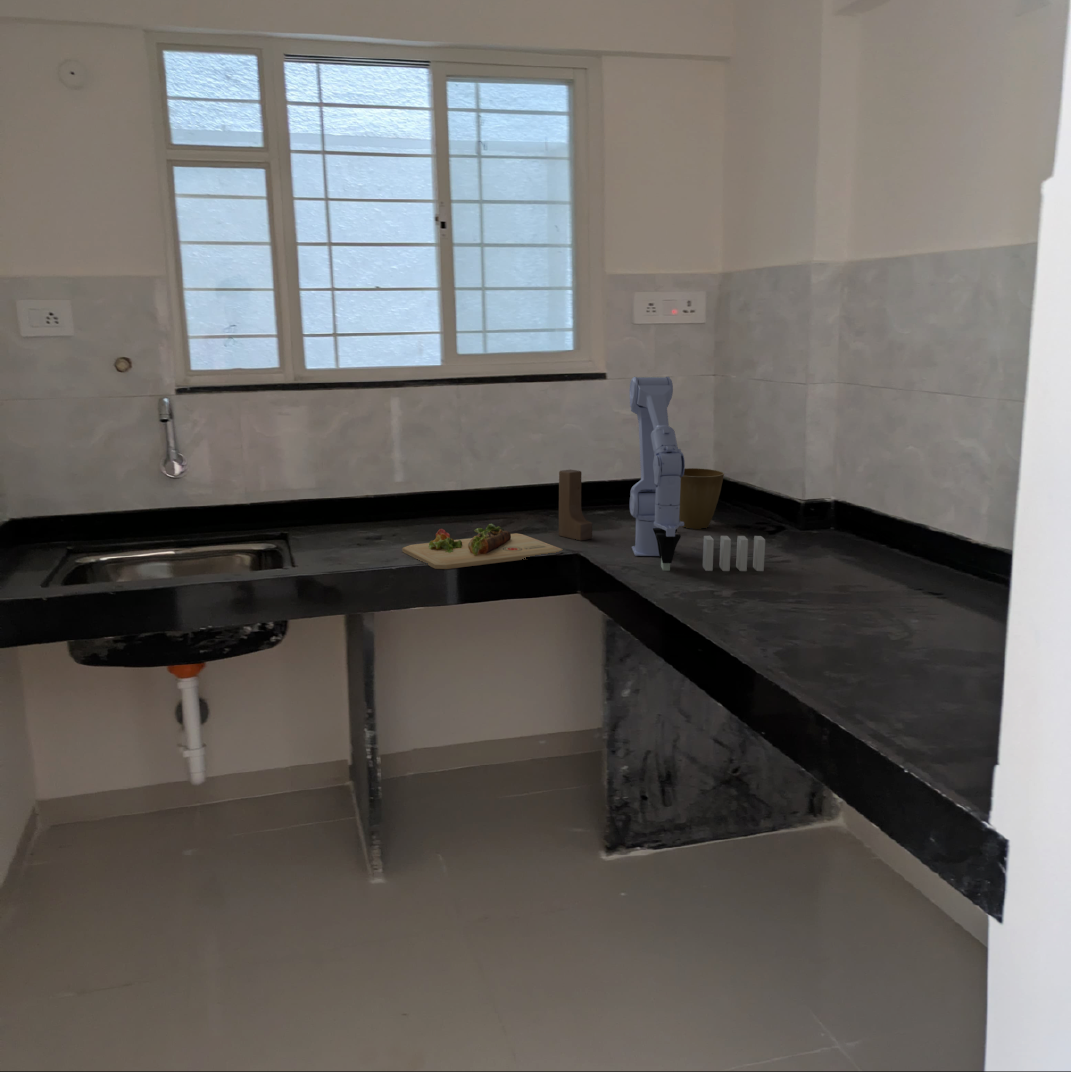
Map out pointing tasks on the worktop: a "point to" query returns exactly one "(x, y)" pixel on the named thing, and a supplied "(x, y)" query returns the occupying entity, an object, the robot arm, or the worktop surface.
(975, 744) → the worktop surface
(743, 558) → the domino
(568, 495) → the wooden block
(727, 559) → the domino
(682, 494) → the plant pot
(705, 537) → the domino
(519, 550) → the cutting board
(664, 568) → the domino
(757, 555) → the domino
